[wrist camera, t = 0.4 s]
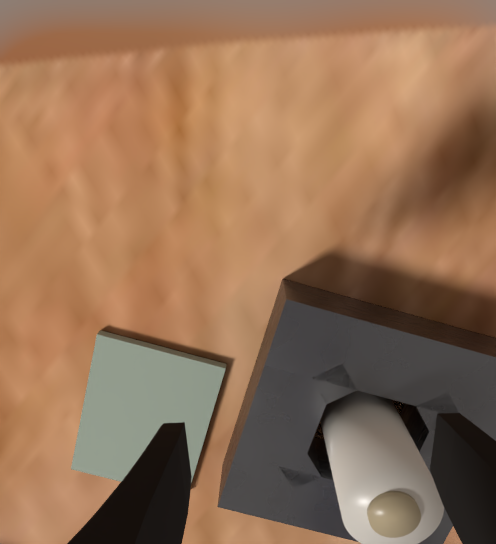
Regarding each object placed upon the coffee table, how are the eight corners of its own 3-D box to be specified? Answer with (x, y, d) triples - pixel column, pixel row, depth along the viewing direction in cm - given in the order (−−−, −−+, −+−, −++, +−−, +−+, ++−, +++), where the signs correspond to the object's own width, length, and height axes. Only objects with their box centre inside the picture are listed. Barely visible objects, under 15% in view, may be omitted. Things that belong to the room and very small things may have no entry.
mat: (188, 491, 25) (186, 497, 24) (74, 462, 25) (71, 469, 24) (226, 363, 22) (225, 368, 22) (100, 330, 22) (97, 334, 22)
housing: (413, 513, 25) (433, 560, 22) (222, 464, 24) (217, 507, 21) (501, 340, 22) (539, 369, 19) (282, 278, 21) (286, 299, 18)
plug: (374, 443, 24) (422, 566, 17) (308, 426, 23) (329, 543, 16) (400, 384, 23) (464, 490, 16) (331, 365, 22) (364, 464, 15)
